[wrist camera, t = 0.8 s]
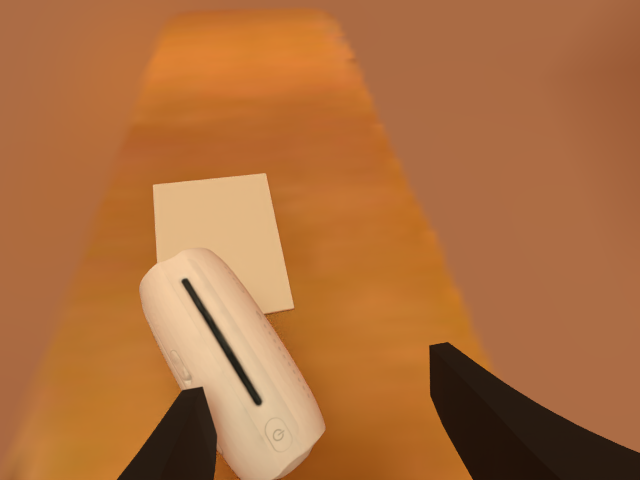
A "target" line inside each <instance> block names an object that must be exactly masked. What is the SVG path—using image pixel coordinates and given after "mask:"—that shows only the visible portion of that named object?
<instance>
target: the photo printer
mask: <svg viewBox="0 0 640 480" xmlns="http://www.w3.org/2000/svg"><path fill="white" fill-rule="evenodd" d="M139 291H140V297H141V302H142V306H143V311H144V314H145V317H146V319H147V322H148V324H149V326H150V328H151V330H152V333H153V335H154V337H155V340H156V342H157V344H158V346H159V348H160V350H161V352H162V354H163V356H164V358H165V360H166V362H167V364H168V366H169V368H170V369H171V371H172V373H173V375H174V377H175V379H176V381H177V383H178V384H179V386H180V388H181V390H185V389H191V388H197V387H202V386H203V389H204V393H205V396H206V399H207V403H208V406H209V409H210V413H211V416H212V419H213V423H214V426H215V429H216V433H217V450H218V452H219V453H220V454H221V455H222V456H223V458H224V459H225V461H226V462H227V464H228V465H229V466H230V467H231V469H232V470H233V471H234V472H235V474H236V475H237V476H238V477H239V478H240V479H241V480H276V479H280V478H282V477H284V476H286V475H287V474H289V473H290V472H291V471H293V470H294V469H295V468H296V467H297V466H298V465H300V464H301V463H302V462H303V461H304V460H305V459H306V458H307V457H308V455H309V453H310V452H311V450H312V447H313V445H314V444H315V443H316V442H317V440H318V439H319V438H320V437H321V436H322V434H323V433H324V432H325V429H326V427H325V423H324V420H323V417H322V414H321V412H320V409H319V407H318V404H317V402H316V400H315V398H314V396H313V394H312V392H311V390H310V388H309V387H308V385H307V383H306V381H305V379H304V378H303V376H302V374H301V372H300V371H299V369H298V367H297V366H296V364H295V362H294V361H293V359H292V357H291V356H290V354H289V352H288V351H287V349H286V348H285V346H284V344H283V343H282V341H281V340H280V338H279V337H278V335H277V333H276V332H275V330H274V329H273V327H272V326H271V324H270V323H269V321H268V320H267V318H266V317H265V315H264V314H263V312H262V311H261V309H260V308H259V306H258V305H257V304H256V302H255V301H254V299H253V298H252V296H251V295H250V294H249V292H248V291H247V289H246V288H245V287H244V285H243V284H242V283H241V281H240V280H239V279H238V277H237V276H236V275H235V273H234V272H233V271H232V270H231V269H230V267H229V266H228V265H227V264H226V263H225V262H224V261H223V260H222V259H221V258H220V257H218V256H217V255H216V254H215V253H214V252H212V251H211V250H209V249H207V248H201V247H199V248H191V249H186V250H182V251H181V252H180V253H178V254H177V255H176V256H174V257H172V258H170V259H168V260H166V261H162V262H159V263H157V264H156V265H155V266H153V267H152V268H151V269H150V270H149V271H148V273H147V274H146V275H145V276H144V278H143V279H142V281H141V283H140V287H139Z"/></svg>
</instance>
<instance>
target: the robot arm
mask: <svg viewBox="0 0 640 480" xmlns="http://www.w3.org/2000/svg"><path fill="white" fill-rule="evenodd" d="M429 349H430V396H431V398H432V401H433V403H434V406H435V408H436V410H437V413H438V415H439V418H440V420H441V422H442V425H443V427H444V428H445V430H446V432H447V434H448V436H449V438H450V439H451V441H452V443H453V445H454V447H455V448H456V450H457V452H458V454H459V456H460V457H461V459H462V461H463V463H464V464H465V466H466V468H467V470H468V472H469V473H470V475H471V477H472V479H473V480H640V453H638V452H636V451H633V450H631V449H628V448H626V447H624V446H621V445H619V444H617V443H615V442H613V441H610V440H608V439H606V438H604V437H602V436H599V435H597V434H595V433H593V432H590V431H588V430H587V429H584V428H582V427H580V426H578V425H576V424H574V423H572V422H571V421H569V420H567V419H565V418H563V417H561V416H559V415H557V414H556V413H554V412H552V411H550V410H548V409H546V408H545V407H543V406H541V405H539V404H538V403H536V402H534V401H533V400H531V399H530V398H528V397H526V396H525V395H523V394H521V393H520V392H518V391H517V390H515V389H513V388H512V387H510V386H509V385H507V384H506V383H504V382H503V381H501V380H500V379H498V378H497V377H496V376H494V375H493V374H491V373H490V372H488V371H487V370H485V369H484V368H483V367H481V366H480V365H478V364H477V363H476V362H474V361H473V360H472V359H470V358H469V357H468V356H466V355H465V354H463V353H462V352H461V351H459V350H458V349H457V348H455V347H454V346H453V345H451V344H450V343H448V342H446V343H440V344H435V345H429ZM216 450H217V433H216V429H215V426H214V423H213V419H212V416H211V413H210V409H209V406H208V403H207V399H206V396H205V393H204V389H203V386H202V387H197V388H191V389H185V390H182V392H181V393H180V394H179V396H178V397H177V398H176V400H175V401H174V403H173V404H172V406H171V407H170V409H169V410H168V411H167V413H166V414H165V416H164V417H163V419H162V420H161V422H160V423H159V424H158V426H157V427H156V429H155V430H154V431H153V433H152V434H151V436H150V437H149V438H148V440H147V441H146V442H145V444H144V445H143V447H142V448H141V449H140V451H139V452H138V453H137V455H136V456H135V457H134V459H133V460H132V461H131V462H130V464H129V465H128V466H127V467H126V469H125V470H124V471H123V472H122V474H121V475H120V476H119V477H118V479H117V480H213V479H214V473H215V464H216Z"/></svg>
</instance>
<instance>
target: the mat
mask: <svg viewBox="0 0 640 480" xmlns="http://www.w3.org/2000/svg"><path fill="white" fill-rule="evenodd" d="M153 194H154V212H155V230H156V248H157V263H159V262H162V261H166V260H168V259H170V258H172V257H174V256H176V255H177V254H178V253H180V252H181V251H182V250H186V249H191V248H199V247H201V248H207V249H209V250H211V251H212V252H214V253H215V254H216V255H217V256H218V257H220V258H221V259H222V260H223V261H224V262H225V263H226V264H227V265H228V266H229V267H230V269H231V270H232V271H233V272H234V273H235V275H236V276H237V277H238V279H239V280H240V281H241V283H242V284H243V285H244V287H245V288H246V289H247V291H248V292H249V294H250V295H251V296H252V298H253V299H254V301H255V302H256V304H257V305H258V306H259V308H260V309H261V311H262V312H263V314H264V315H266V314H271V313H276V312H282V311H287V310H292V309H294V305H293V300H292V295H291V291H290V286H289V281H288V276H287V272H286V267H285V262H284V257H283V253H282V248H281V243H280V238H279V234H278V229H277V224H276V220H275V215H274V210H273V205H272V201H271V196H270V191H269V186H268V182H267V177H266V173H264V174H254V175H245V176H235V177H225V178H215V179H206V180H196V181H186V182H176V183H167V184H157V185H153Z"/></svg>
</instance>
